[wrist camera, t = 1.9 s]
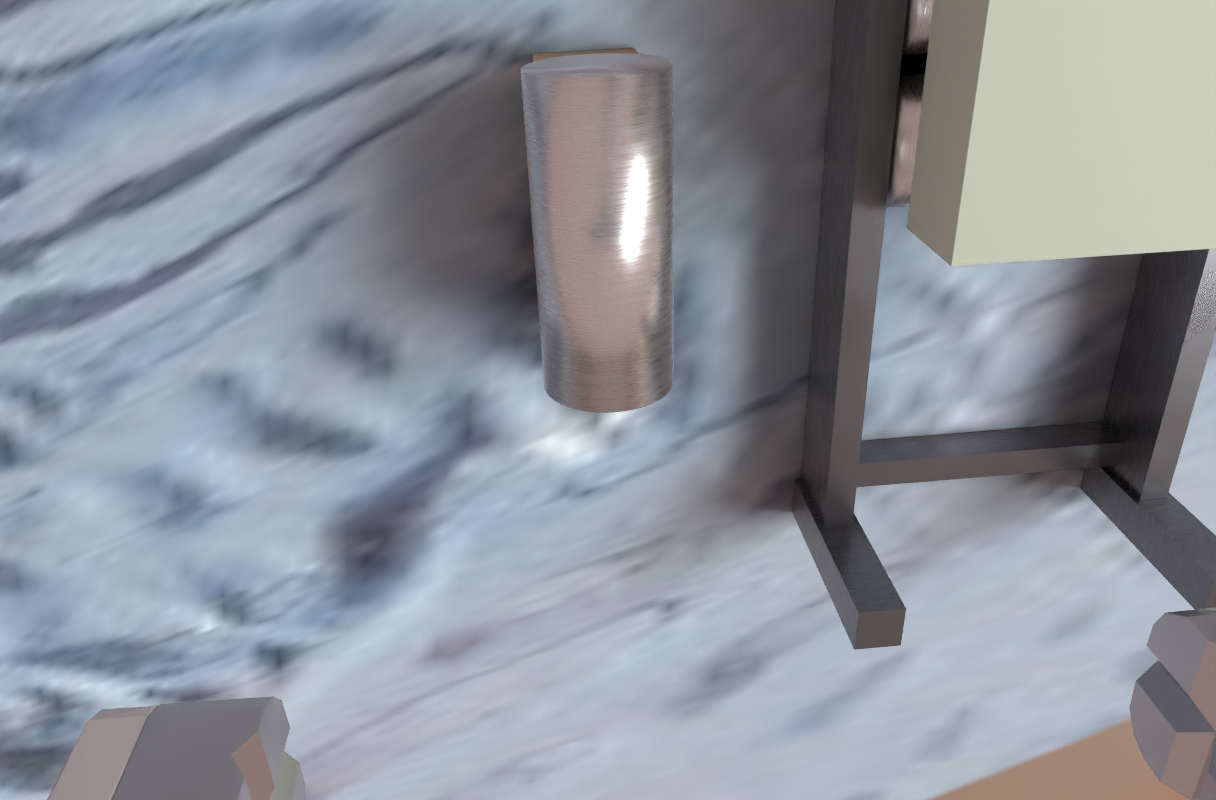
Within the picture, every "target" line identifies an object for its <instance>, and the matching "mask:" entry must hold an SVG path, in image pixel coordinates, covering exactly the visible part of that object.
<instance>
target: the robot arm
mask: <svg viewBox="0 0 1216 800" xmlns="http://www.w3.org/2000/svg"><path fill="white" fill-rule="evenodd" d="M1147 646H1148V648H1149V650H1150V651H1151V653H1152V654H1153V656H1154V657H1155V659H1156V661H1157V662H1156V663H1155V664H1153V665H1152V666H1151V667H1150V668H1149V669H1148V670H1147V671H1146V672H1145V673H1144V674H1143V675H1142V676H1141V677H1140V678H1138V679H1137V680H1136V683H1135V687H1134V691H1133V695H1132V700H1131V704H1130V714H1131V720H1132V726H1133V732H1134V737H1135V739H1136V742H1137V744H1138V746H1139V749H1140V751H1141V753H1142V755H1143V758H1144V759H1145V761H1146V762H1147V764H1148V765H1149V766H1150V768H1151V769H1152V770H1153V772H1154V774H1155V775H1156V776H1157V778H1158V779H1159V781H1160V782H1162V783H1163V784H1165V785H1167V786H1169V787H1170V788H1172V789H1173V790H1175V791H1177V792H1178V793H1180V794H1182V795H1183V796H1185V797H1187V798H1188V799H1190V800H1216V608H1207V609H1197V610H1187V611H1178V612H1168V613H1165V614H1164V615H1163V616H1162V617H1161V618H1160V619H1159V620H1158V621H1157V622H1156V623H1155V624H1154V625H1153V628H1152V631H1151V634H1150V637H1149V640H1148V643H1147ZM289 729H290V726H289V723H288V719H287V716H286V713H285V710H284V707H283V703H282V700H280V699H278V698H275V697H260V698H245V699H231V700H216V701H202V702H187V703H173V704H161V705H160V706H150V707H134V708H118V709H102V710H101V711H100V712H99V713H97V714H96V715H95V716H94V717H93V718H92V719H90V720H89V721H88V723H87V724H86V725H85V727H84V729H83V731H82V733H81V735H80V737H79V739H78V741H77V743H76V745H75V747H74V749H73V751H72V753H71V754H70V756H69V758H68V760H67V762H66V764H65V766H64V768H63V770H62V772H61V774H60V776H59V778H58V780H57V782H56V784H55V786H54V788H53V790H52V792H51V794H50V796H49V798H48V800H306V793H305V783H304V779H303V775H302V771H301V767H300V763H299V762H298V761H297V760H295V759H294V758H292V757H291V756H290V755H288V754H287V753H286V752H284V749H285V745H286V741H287V737H288V733H289Z"/></svg>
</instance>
